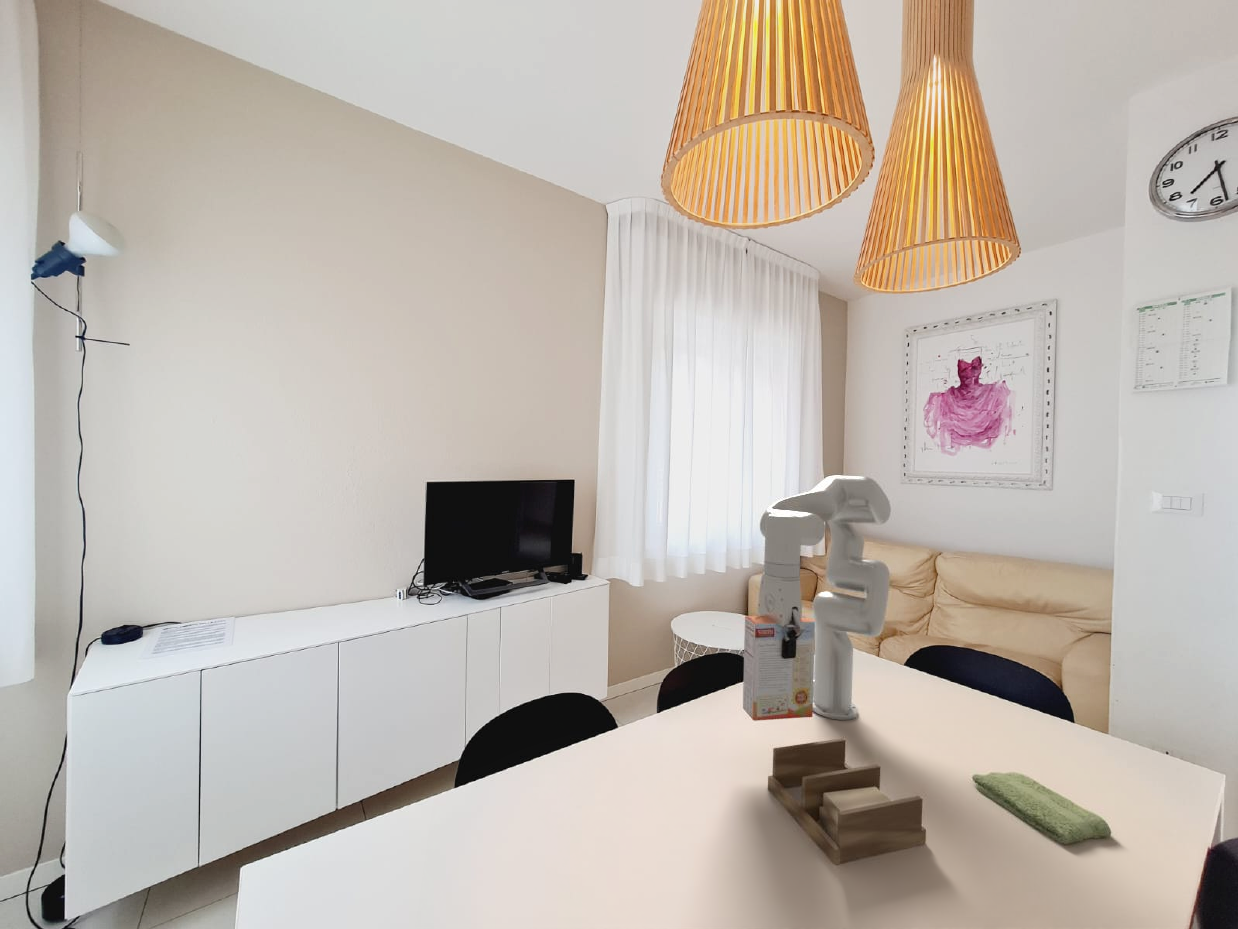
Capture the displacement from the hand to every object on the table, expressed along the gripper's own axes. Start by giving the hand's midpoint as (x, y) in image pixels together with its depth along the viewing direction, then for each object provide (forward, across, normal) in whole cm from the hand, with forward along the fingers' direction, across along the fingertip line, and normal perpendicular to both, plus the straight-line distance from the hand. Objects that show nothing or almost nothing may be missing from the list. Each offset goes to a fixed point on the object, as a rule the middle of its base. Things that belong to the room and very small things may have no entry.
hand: (778, 651), depth 106 cm
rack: (+25, +16, +3) cm, 30 cm away
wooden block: (+25, +21, +3) cm, 33 cm away
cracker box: (+14, 0, 0) cm, 14 cm away
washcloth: (+25, +24, +42) cm, 55 cm away
